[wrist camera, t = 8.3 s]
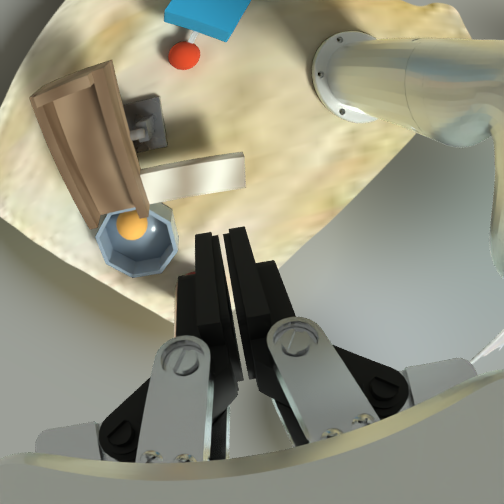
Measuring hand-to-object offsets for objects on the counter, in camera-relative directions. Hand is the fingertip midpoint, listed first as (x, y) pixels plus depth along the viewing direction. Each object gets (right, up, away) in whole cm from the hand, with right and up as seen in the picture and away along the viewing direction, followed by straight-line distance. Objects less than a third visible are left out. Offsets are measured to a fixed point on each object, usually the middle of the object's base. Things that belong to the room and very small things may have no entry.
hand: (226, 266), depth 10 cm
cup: (-14, +3, +26) cm, 30 cm away
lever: (-3, +28, +12) cm, 31 cm away
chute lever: (-9, +12, +14) cm, 21 cm away
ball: (-14, +4, +23) cm, 27 cm away
